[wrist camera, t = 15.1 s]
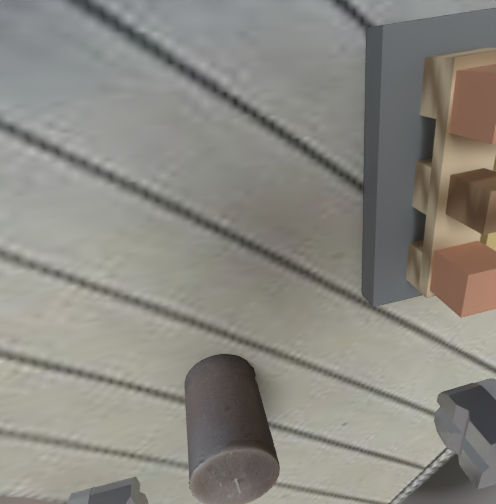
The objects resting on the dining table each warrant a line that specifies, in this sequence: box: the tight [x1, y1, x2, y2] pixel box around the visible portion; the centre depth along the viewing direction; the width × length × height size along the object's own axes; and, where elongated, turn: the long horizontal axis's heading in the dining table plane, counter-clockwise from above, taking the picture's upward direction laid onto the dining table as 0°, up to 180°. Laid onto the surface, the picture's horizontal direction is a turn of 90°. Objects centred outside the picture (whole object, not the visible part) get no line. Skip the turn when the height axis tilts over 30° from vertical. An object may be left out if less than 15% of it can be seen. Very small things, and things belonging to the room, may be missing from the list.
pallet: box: [406, 48, 496, 298], centre depth 36 cm, size 24×6×9 cm, turn 8°
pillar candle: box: [185, 354, 280, 504], centre depth 45 cm, size 10×10×15 cm
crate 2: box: [430, 241, 496, 317], centre depth 38 cm, size 5×5×5 cm
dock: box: [362, 8, 496, 307], centre depth 40 cm, size 30×14×5 cm, turn 8°
